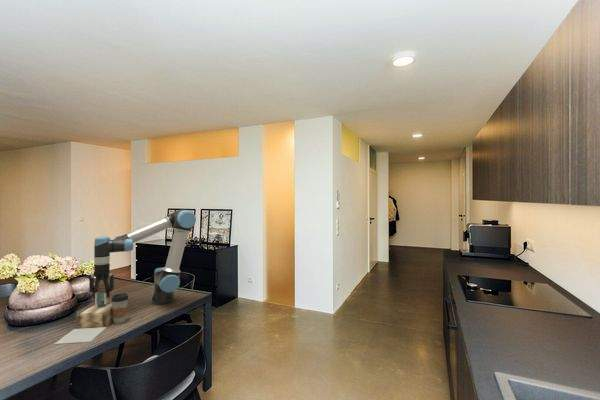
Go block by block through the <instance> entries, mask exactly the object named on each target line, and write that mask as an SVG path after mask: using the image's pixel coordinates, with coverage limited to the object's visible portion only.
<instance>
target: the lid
mask: <svg viewBox="0 0 600 400" xmlns="http://www.w3.org/2000/svg"><path fill="white" fill-rule="evenodd" d="M97 292H98V295H97V305H95V304H94V305H92V306H91V307H89V308H88V309H86V310H85V311H83V312H82V313H80V315H99V314H105V312H106V311H107V310H108V309H110V308H111V307H112V304H104V293H105V292H106V291H97Z"/></svg>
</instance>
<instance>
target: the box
mask: <svg viewBox="0 0 600 400" xmlns="http://www.w3.org/2000/svg"><path fill="white" fill-rule="evenodd" d="M94 304H95V302H91V303H90V304H88V305H87V306H85V307H84V308H82V309H81V310H79V311H78V312H76V314H75V315H76V316H75V317H76V319H75V320H76V321H75V322H76V326H75V329H83V328H100V327H107V328H108V327H109V326H110V325H111V324H112V323H114V322H113V314H112V307H111V308H110V309H108V310H107V311H106V312H105V314H99V315H80V313H82V312H83V311H85V310H86V309H88V308H89V307H91V306H92V305H94ZM107 304H112V301H108V303H107Z"/></svg>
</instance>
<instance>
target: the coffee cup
mask: <svg viewBox="0 0 600 400" xmlns="http://www.w3.org/2000/svg"><path fill="white" fill-rule="evenodd" d="M110 302H112V314H113V322H112V323H113V324H115V325H118V324H123V323H125V322H126V321H127V316H128V315H127V314H128V308H129V307H128V304H129V303H128V302H129V295H128V293H117V294H115V295H112V298H111V301H110Z"/></svg>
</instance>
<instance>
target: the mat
mask: <svg viewBox="0 0 600 400" xmlns="http://www.w3.org/2000/svg"><path fill="white" fill-rule="evenodd" d="M107 328H108V326H107V327H100V328H83V329H76V328H73V329H72V330H71V331H69V332H68V333H67V334H65V335H64V336H63V337H62V338H60V339H59V340H57V341H56V342H54V343H53V345H69V344H86V343H92V342H93V341H94V340H95V339H96V338H98V337H99V336H100V334H102V333H103V332H104V331H105V330H106V329H107Z"/></svg>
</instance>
